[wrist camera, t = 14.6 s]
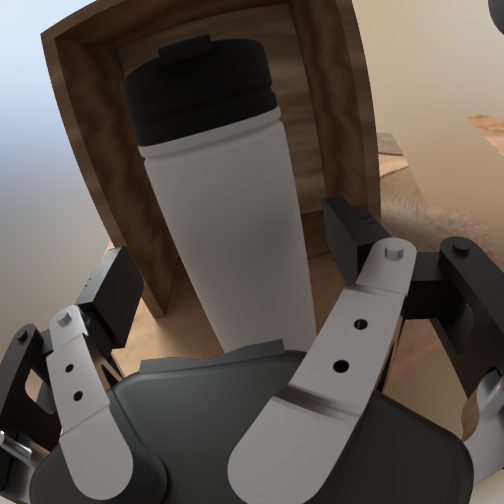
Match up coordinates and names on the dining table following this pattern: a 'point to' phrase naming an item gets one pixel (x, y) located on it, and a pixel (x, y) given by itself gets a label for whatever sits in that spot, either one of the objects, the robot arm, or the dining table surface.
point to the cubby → (284, 86)
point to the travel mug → (226, 186)
